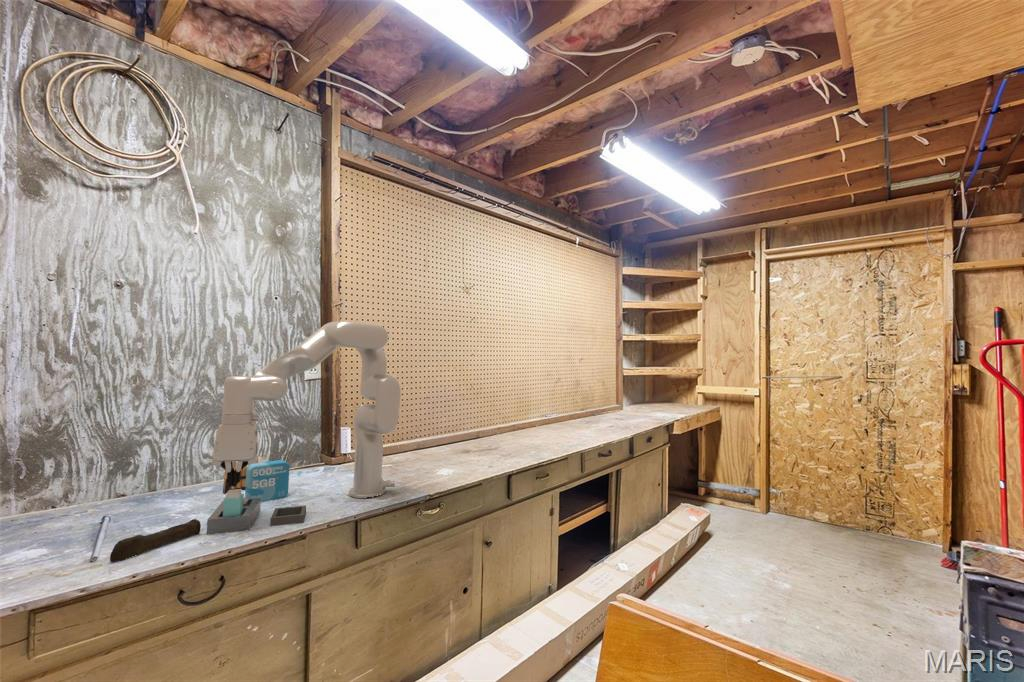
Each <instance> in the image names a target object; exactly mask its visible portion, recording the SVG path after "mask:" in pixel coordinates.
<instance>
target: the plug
mask: <svg viewBox="0 0 1024 682" xmlns="http://www.w3.org/2000/svg"><path fill="white" fill-rule="evenodd" d="M241 490H242V489H235V490H229V491H228V492H227V494H225V497H224V498H223V501H224V503H223V517H228V516H239V515H242V514H243V497H245V493H242V491H241Z"/></svg>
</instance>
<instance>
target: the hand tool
mask: <svg viewBox="0 0 1024 682" xmlns="http://www.w3.org/2000/svg"><path fill="white" fill-rule="evenodd" d="M201 525H202V524H201V521H200V520H198V519H196V518H193V519H191V520H189V521H187V522H184V523H179V524H178V525H174V526H171V527H169V528H167V529H163V530H160V531H156V532H154V533H150V534H147V535H144V534H137V535H134V536H131V537H128V538H123V539H120V540H119V541H117V543H116V544H115V545H114V546H113V548H112V551H111V552H110V556H109V562H110V563H114V562H120V561H124V560H126V558H127V559H130V558H133V557H132V556H134V557H136V556H135V555H137V556H140V555H142V554H143V553H144V552H146V551H147V550H150V549H151V550H152V549H154V548H156V547H159V546H162V545H164V544H168V543H171V542H175V541H177V540H180V539H183V538H187V537H189V536H192V535H194V534H195V535H197V534H198V535H200V533H201ZM141 553H142V554H141ZM139 554H140V555H139ZM129 557H130V558H129ZM123 559H124V560H123ZM119 560H120V561H119Z"/></svg>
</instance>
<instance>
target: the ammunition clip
mask: <svg viewBox="0 0 1024 682" xmlns="http://www.w3.org/2000/svg"><path fill="white" fill-rule="evenodd" d="M256 457H257V462H256V463H259V457H258V454H257V455H256ZM245 461H246V460H245ZM248 466H249V465H246V466H245V467H244V468H243V469H242V470H241V480H240V482H239V483H238V484H237V486H236V487H233V486H231V487H229V483H227V473H228V472H226V470H225V469H224V480H223V487H222V493H223V494H225V495H227V494H226V493H227V492H228V491H229V490H235V489H242V490H243V491H245V487H246V470H247V467H248ZM236 467H237V461H233V468H234V470H235V469H236Z"/></svg>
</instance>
